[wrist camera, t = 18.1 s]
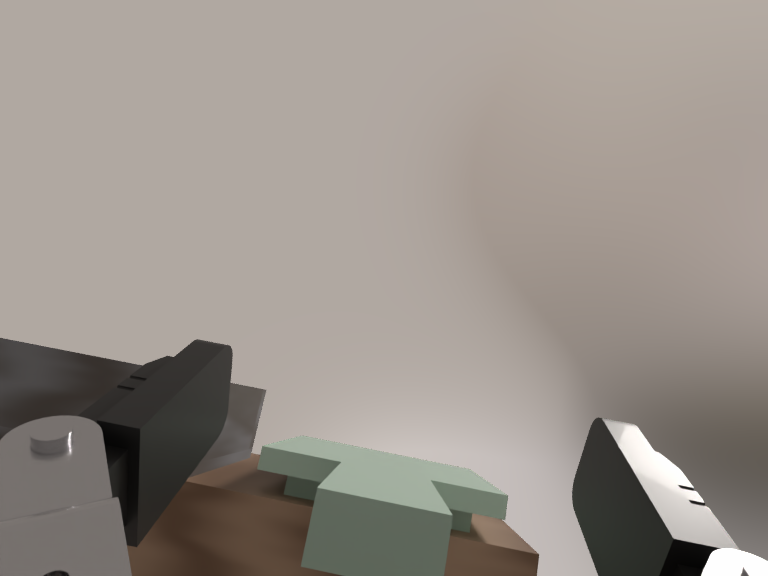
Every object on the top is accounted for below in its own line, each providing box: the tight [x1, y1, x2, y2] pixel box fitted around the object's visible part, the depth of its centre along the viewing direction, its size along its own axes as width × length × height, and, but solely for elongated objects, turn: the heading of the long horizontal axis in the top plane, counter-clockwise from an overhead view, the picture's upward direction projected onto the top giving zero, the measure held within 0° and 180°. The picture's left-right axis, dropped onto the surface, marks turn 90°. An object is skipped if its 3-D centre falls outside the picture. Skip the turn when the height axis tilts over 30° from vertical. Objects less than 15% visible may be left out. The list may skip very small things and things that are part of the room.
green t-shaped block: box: [257, 436, 508, 576], centre depth 22 cm, size 11×23×3 cm, turn 0°
